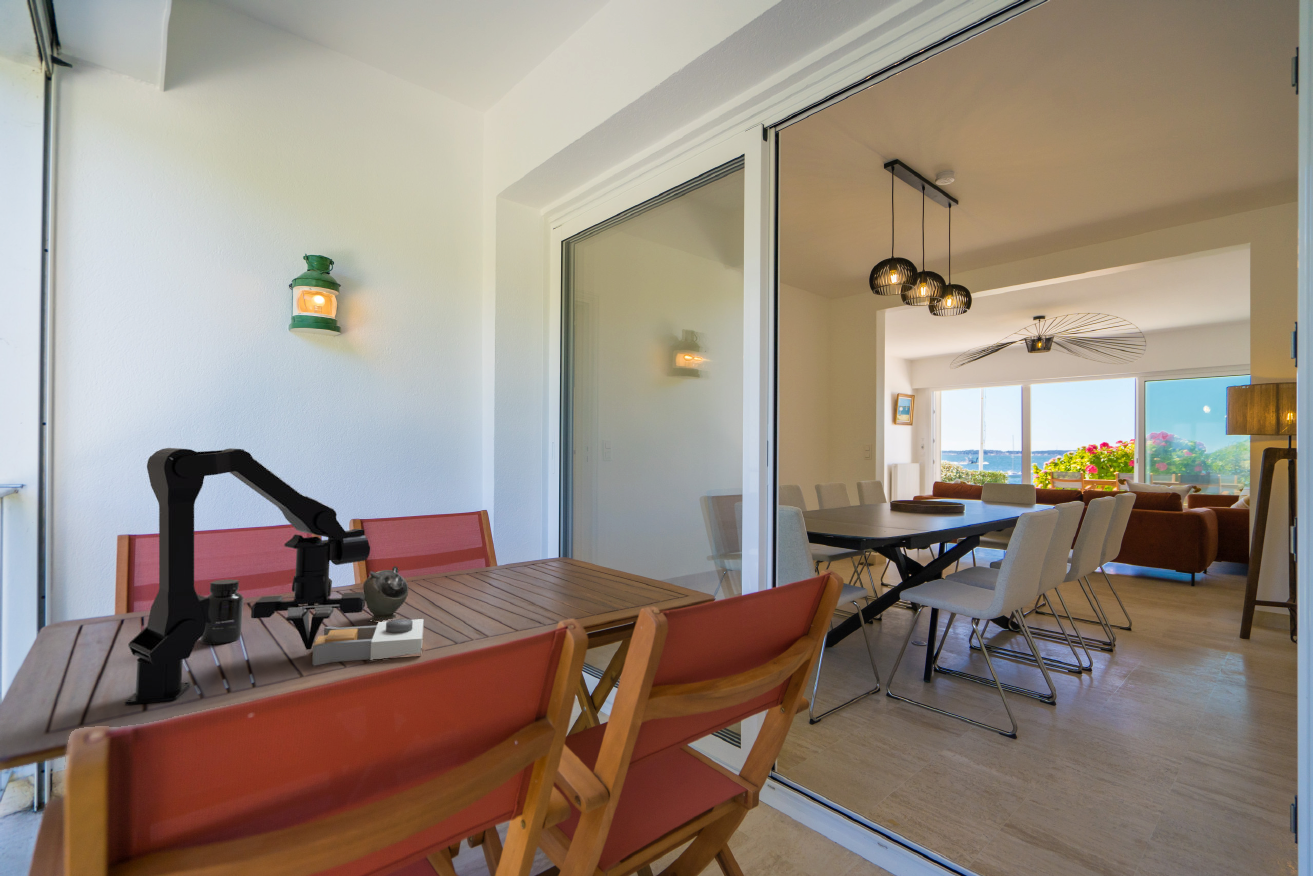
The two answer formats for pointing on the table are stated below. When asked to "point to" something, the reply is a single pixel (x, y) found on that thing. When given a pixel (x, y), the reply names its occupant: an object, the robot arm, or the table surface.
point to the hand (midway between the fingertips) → (309, 649)
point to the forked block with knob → (373, 642)
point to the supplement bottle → (224, 613)
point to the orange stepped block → (338, 636)
